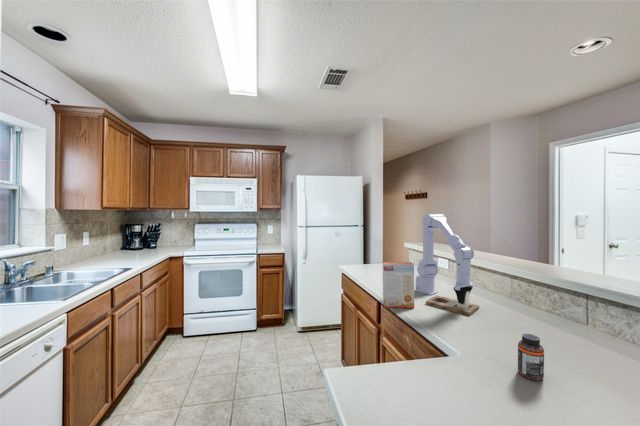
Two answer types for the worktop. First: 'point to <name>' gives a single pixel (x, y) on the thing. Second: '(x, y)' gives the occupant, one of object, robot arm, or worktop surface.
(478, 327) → the worktop surface
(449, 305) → the socket panel
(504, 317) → the worktop surface
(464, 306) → the plug
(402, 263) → the cracker box
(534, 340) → the supplement bottle
